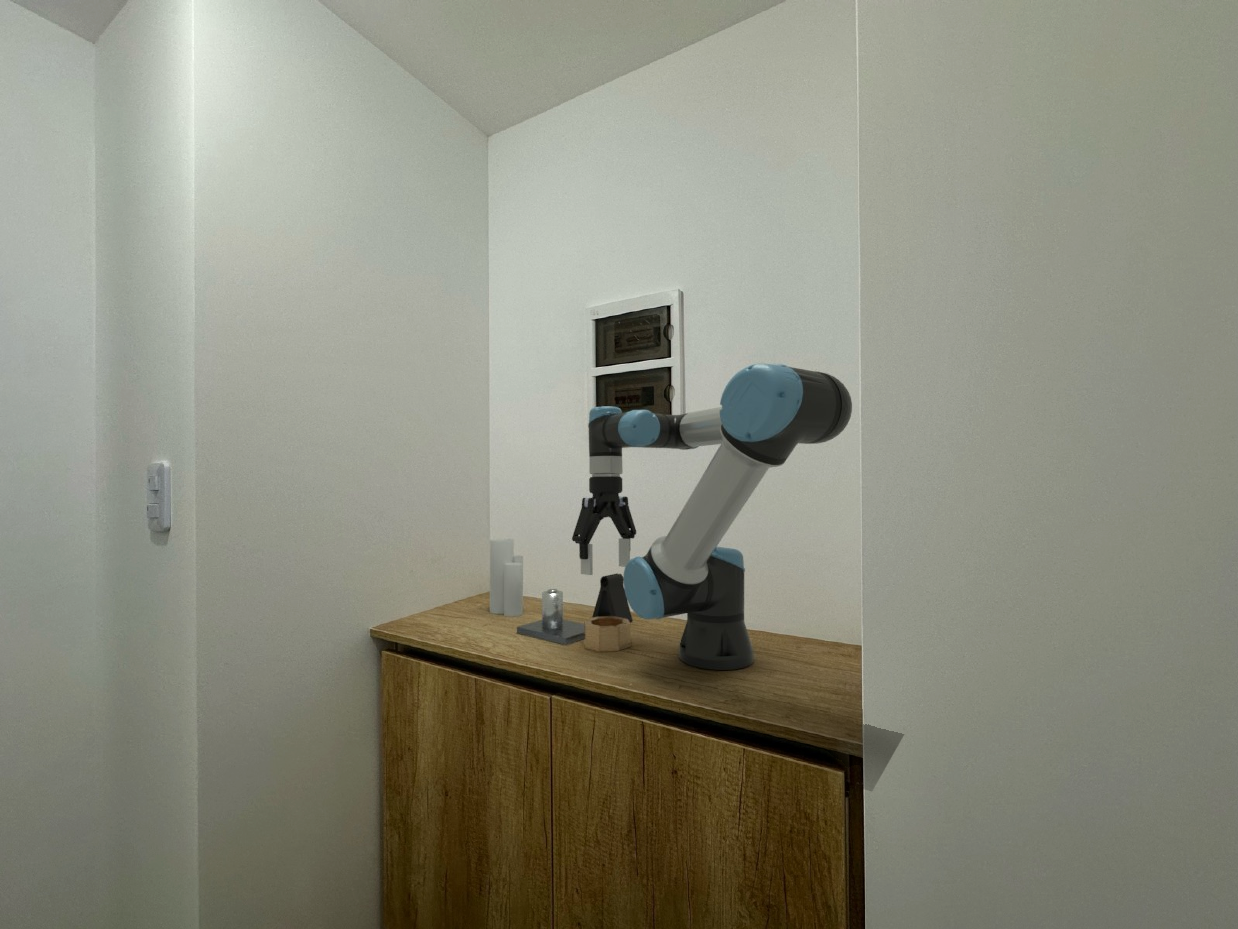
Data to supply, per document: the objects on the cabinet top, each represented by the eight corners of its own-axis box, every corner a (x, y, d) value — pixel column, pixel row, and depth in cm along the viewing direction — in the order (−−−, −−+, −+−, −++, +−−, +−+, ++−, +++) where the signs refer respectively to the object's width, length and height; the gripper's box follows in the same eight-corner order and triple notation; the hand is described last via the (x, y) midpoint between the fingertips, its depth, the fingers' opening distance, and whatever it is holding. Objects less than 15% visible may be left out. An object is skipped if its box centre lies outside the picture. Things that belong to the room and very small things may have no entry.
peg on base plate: (599, 633, 134) (599, 591, 134) (565, 645, 124) (565, 599, 124) (552, 623, 143) (552, 583, 144) (517, 633, 134) (517, 591, 134)
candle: (484, 612, 155) (484, 540, 156) (503, 607, 161) (503, 538, 162) (513, 617, 149) (514, 542, 150) (532, 612, 155) (532, 540, 156)
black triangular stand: (591, 620, 146) (591, 574, 146) (606, 616, 151) (606, 571, 151) (617, 626, 140) (617, 578, 140) (632, 621, 145) (632, 575, 145)
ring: (638, 643, 125) (638, 620, 126) (610, 654, 118) (610, 630, 118) (603, 635, 132) (603, 614, 132) (575, 645, 124) (575, 623, 124)
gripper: (625, 476, 138) (625, 562, 137) (555, 475, 118) (555, 576, 117) (650, 476, 133) (651, 565, 133) (582, 475, 113) (582, 579, 113)
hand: (606, 570), depth 125 cm, fingers open, 13 cm apart
